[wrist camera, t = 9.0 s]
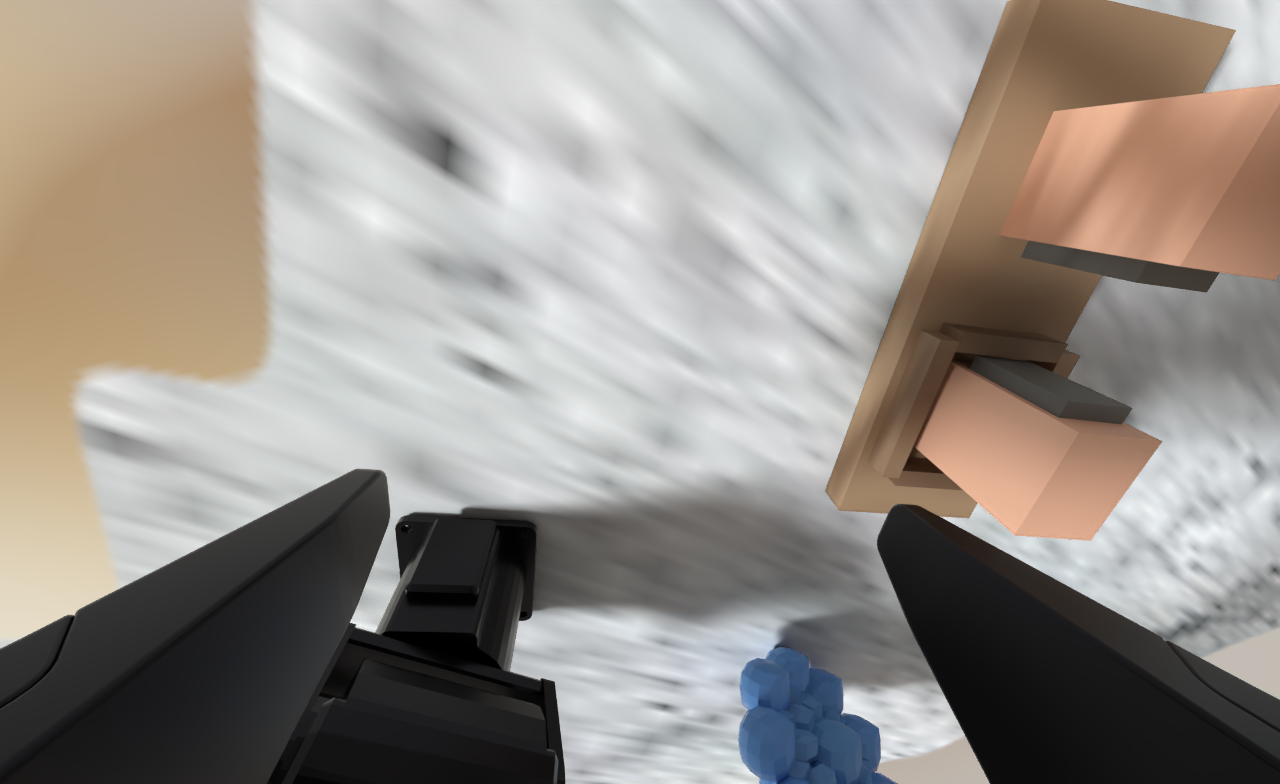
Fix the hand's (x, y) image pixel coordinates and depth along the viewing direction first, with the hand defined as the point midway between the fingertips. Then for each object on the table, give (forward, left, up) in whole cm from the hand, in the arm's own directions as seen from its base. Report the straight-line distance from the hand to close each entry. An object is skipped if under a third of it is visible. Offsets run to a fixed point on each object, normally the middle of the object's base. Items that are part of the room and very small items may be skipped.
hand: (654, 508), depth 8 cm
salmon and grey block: (-2, -15, -10) cm, 18 cm away
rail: (+2, -15, -12) cm, 19 cm away
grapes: (-21, -12, -12) cm, 27 cm away
